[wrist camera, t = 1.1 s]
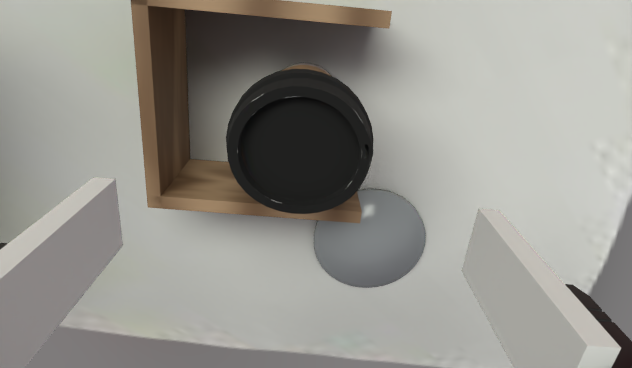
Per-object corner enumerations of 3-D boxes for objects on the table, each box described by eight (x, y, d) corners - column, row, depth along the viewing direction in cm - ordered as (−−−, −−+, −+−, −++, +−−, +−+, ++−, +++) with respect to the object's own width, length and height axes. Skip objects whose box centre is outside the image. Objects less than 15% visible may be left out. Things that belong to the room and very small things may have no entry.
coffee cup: (355, 140, 37) (379, 220, 24) (262, 147, 38) (232, 231, 24) (351, 42, 34) (376, 69, 20) (248, 51, 34) (205, 83, 20)
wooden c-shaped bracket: (179, 168, 38) (147, 207, 31) (171, -11, 32) (129, -15, 25) (351, 181, 39) (360, 223, 32) (374, 9, 33) (391, 11, 26)
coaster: (309, 280, 43) (309, 283, 43) (319, 184, 39) (319, 186, 38) (413, 287, 44) (414, 290, 43) (434, 193, 39) (435, 196, 39)
